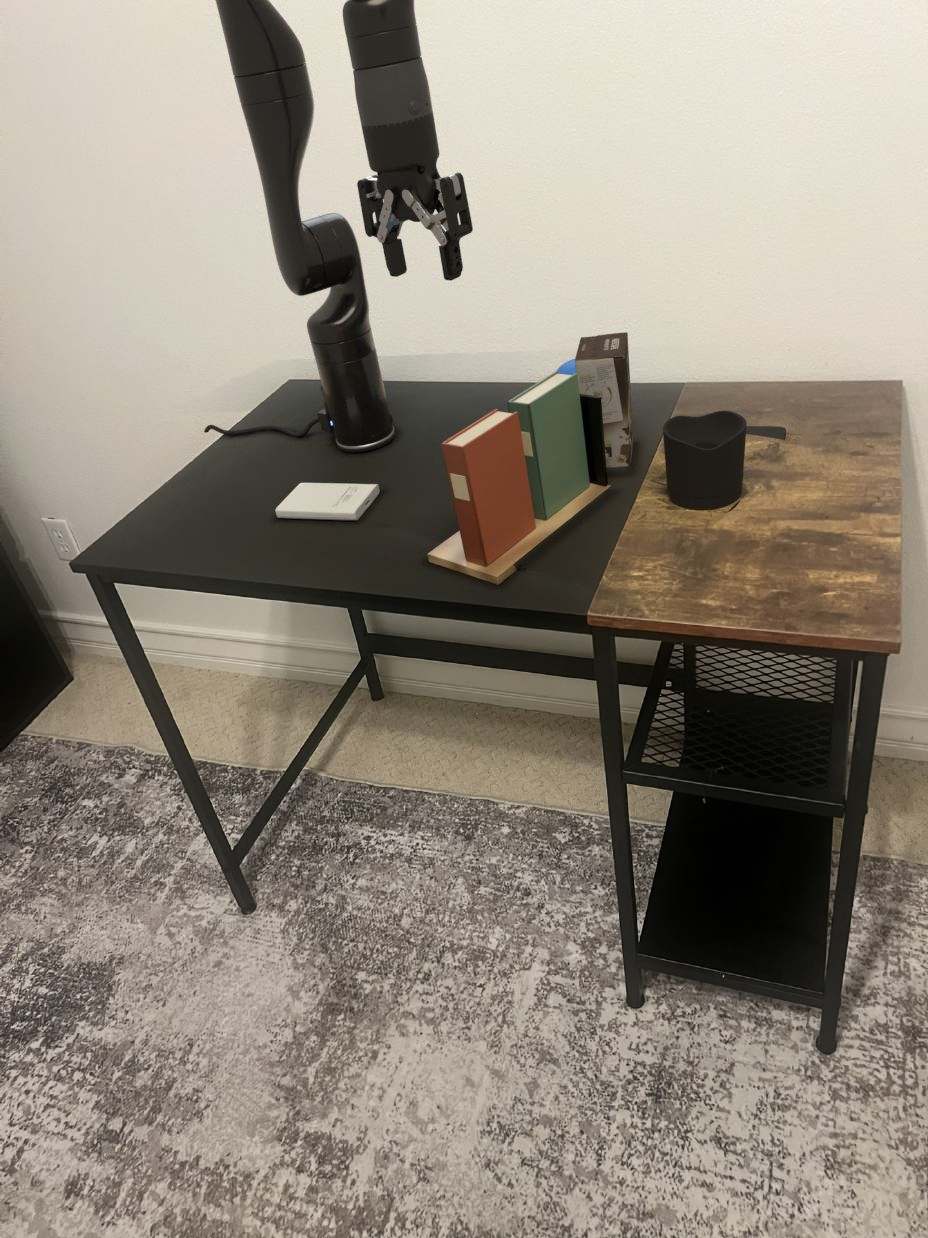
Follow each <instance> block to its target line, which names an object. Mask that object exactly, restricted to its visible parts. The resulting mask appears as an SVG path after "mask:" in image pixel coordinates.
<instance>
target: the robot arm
mask: <svg viewBox="0 0 928 1238" xmlns="http://www.w3.org/2000/svg"><path fill="white" fill-rule="evenodd" d="M215 4H216V8H217V12H218V16H219V20H220V25H221V29H222V33H223V37H224V40H225V44H226V49H227V53H228V57H229V62H230V67H231V71H232V75H233V81H234V83H235V88H236V92H237V96H238V99H239V104H240V106H241V110H242V114H243V117H244V120H245V121H244V122H245V123H246V127H247V131H248V135H249V139H250V141H251V145H252V149H253V153H254V157H255V161H256V165H257V169H258V173H259V178H260V182H261V187H262V192H263V197H264V201H265V208H266V213H267V218H268V224H269V230H270V236H271V240H272V241H271V242H272V245H273V251H274V254H275V259H276V263H277V266H278V270H279V272H280V275H281V277H282V279H283V281H284V284H285V285H286V286H287V288H288V289H289V291H290V292H291V293H293V294H294V295H295V296H298V297H305V296H309V295H313V294H315V293H318V292H321V291H324V290H327V289H329V292H328V294H327V297H326V298H325V300H324V302H323V303H322V304H321V305H320V307H319V308H317V309H316V310H315V311H314V312H313V313H312V314H311V315H310V316H309V317H308V319H307V321H306V330H307V334H308V337H309V341H310V345H311V349H312V353H313V356H314V361H315V364H316V367H317V371H318V375H319V379H320V382H321V385H320V386H319V392H320V396H321V400H322V404H323V407H324V408H323V409H321V410H320V411H318V412H317V417H316V418H314V419H312V420H311V421H309V422H308V424H306V425H305V428H304V429H303V430H302V431H300V432H299V431H298V432H294V431H291V430H289V429H287V428H285V427H283V426H279V425H259V426H254V427H249V428H244V429H234V430H226V429H223V428H220V427H218V426H216V425H214V424H209V425H207V426H206V427H205V428H204V431H203V433H209V432H210V431H211V430H213V431H216V432H217V433H220V434H222V435H225V436H237V435H238V436H239V435H245V434H250V433H251V434H252V433H256V432H257V433H258V432H263V431H278V432H282V433H283V434H286V435H288V436H290V437H294V438H302V437H305V436H306V435H307V434H308V433H309V432H310V430H311V429H312V427H314V426H315V425H316V424H318V423H319V424H320V428H321V431H323V432H328V433H331V438H332V441H333V444H336V445H337V446H336V447H337V448H338V449H339V450H340V451H342V452H344V453H345V452H346V453H364V452H370V451H373V450H376V449H379V448H381V447H384V446H386V445H387V444H389V443H390V442H391V441H393V440H394V438H395V437H396V432H395V427H394V426H395V425H394V420H393V416H392V414H391V412H390V411H391V409H390V406H389V401H388V398H387V394H386V389H385V384H384V379H383V375H382V370H381V365H380V361H379V358H378V353H377V352H378V351H377V349H376V345H375V339H374V335H373V331H372V326H371V321H370V304H369V299H368V293H367V288H366V282H365V275H364V269H363V268H364V267H363V261H362V256H361V251H360V248H359V244H358V239H357V238H356V233H354V232H355V231H354V229H353V227H352V226H351V224H350V223H349V221H348V220H347V219H346V217H344V216H343V214H340V213H338V212H330V213H325V214H322V215H318V216H315V217H311V218H307V219H305V220H302V216H301V208H300V196H299V194H300V193H299V189H300V179H301V177H300V176H301V171H302V166H303V163H304V158H305V155H306V152H307V149H308V144H309V141H310V137H311V133H312V128H313V123H314V116H315V100H314V93H313V89H312V84H311V79H310V73H309V70H308V66H307V63H306V62H307V60H306V57H305V52H304V49H303V46H302V44H301V41H300V39H299V38H298V37H297V35H296V33H295V32H294V30H293V29H292V27H291V26H290V25H289V23H288V22H287V21H286V20H285V18H284V17H283V16H282V14H281V13H280V12H279V11H278V9H277V8H276V7H275V6H274V5H273V3H272V2H271V1H270V0H215ZM342 6H343V7H342V22H343V26H344V32H345V37H346V42H347V47H348V52H349V57H350V63H351V68H352V74H353V81H354V82H353V83H354V94H355V99H356V100H355V101H356V105H357V111H358V115H359V120H360V125H361V130H362V136H363V142H364V145H365V151H366V156H367V160H368V166H369V168H370V170H371V171H372V172H374V173H376V174H373V175H369V176H367V177H363V178H361V179H359V180H357V183H356V185H357V186H356V187H357V192H358V198H359V203H360V209H361V216H362V221H363V225H364V231H365V235H366V236H367V237H368V238H372V237H374V238H376V239H377V241H378V242H379V243H380V244H381V245H382V246H381V247H382V250H383V256H384V260H385V265H386V268H387V270H388V273H389V276H390V277H395V278H398V277H400V276H402V275H404V274H406V273H407V271H408V267H407V266H408V265H407V262H406V261H407V260H406V257H405V250H404V246H403V240H402V238H398V237H399V236H400V233H401V230H402V227H403V224H404V223H405V222H407V221H411V222H413V223H421V224H422V226H423V227H424V228H425V230H428V231H430V232H431V233H432V235H433V236H434V238H435V239H436V240H437V242H438V243H439V245H438V252H439V257H440V263H441V269H442V275H443V279H444V280H445V281H450V282H451V281H455V280H456V279H458V278H460V277H461V275H462V272H463V270H464V264H463V259H462V258H463V257H462V252H461V246H460V245H461V244H460V240H461V239H462V238H463V237H466V236H468V235H469V234H471V233H473V231H474V227H473V222H472V221H473V220H472V217H471V211H470V205H469V201H468V195H467V190H466V184H465V179H464V176H463V174H462V173H461V172H455V173H453V174H449V175H448V176H441V175H440V173H439V171H438V168H437V167H438V166H437V162H438V159H439V157H440V147H439V141H438V136H437V135H438V134H437V127H436V122H435V116H434V110H433V109H434V108H433V102H432V97H431V91H430V85H429V79H428V76H427V72H426V69H425V65H424V61H423V57H422V49H421V44H420V36H419V31H418V25H417V19H416V12H415V0H346V1H345V3H344V4H343V5H342ZM435 211H436V212H437V213H435ZM434 213H435V214H434ZM374 216H375V220H376V221H374Z"/></svg>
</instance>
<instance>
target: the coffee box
mask: <svg viewBox="0 0 928 1238" xmlns="http://www.w3.org/2000/svg"><path fill="white" fill-rule="evenodd" d="M628 334H629V333H628V332H627V331H626V332H625V331H624V332H614V333H606V334H605V333H604V334H597V335H593V336H581V337H580V339H579V343H578V347H577V351H576V354H575V357H574V359H575V366H576V373H577V377H578V386H579V394H586V395H592V396H598V397H601V401H602V414H603V428H604V441H605V454H606V468H623V467H630V466H631V463H632V456H633V447H634V423H633V421H634V420H633V407H632V405H633V404H632V391H631V390H632V389H631V387H632V386H631V371H630V356H629V354H630V353H629V352H630V351H629V335H628Z"/></svg>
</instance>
